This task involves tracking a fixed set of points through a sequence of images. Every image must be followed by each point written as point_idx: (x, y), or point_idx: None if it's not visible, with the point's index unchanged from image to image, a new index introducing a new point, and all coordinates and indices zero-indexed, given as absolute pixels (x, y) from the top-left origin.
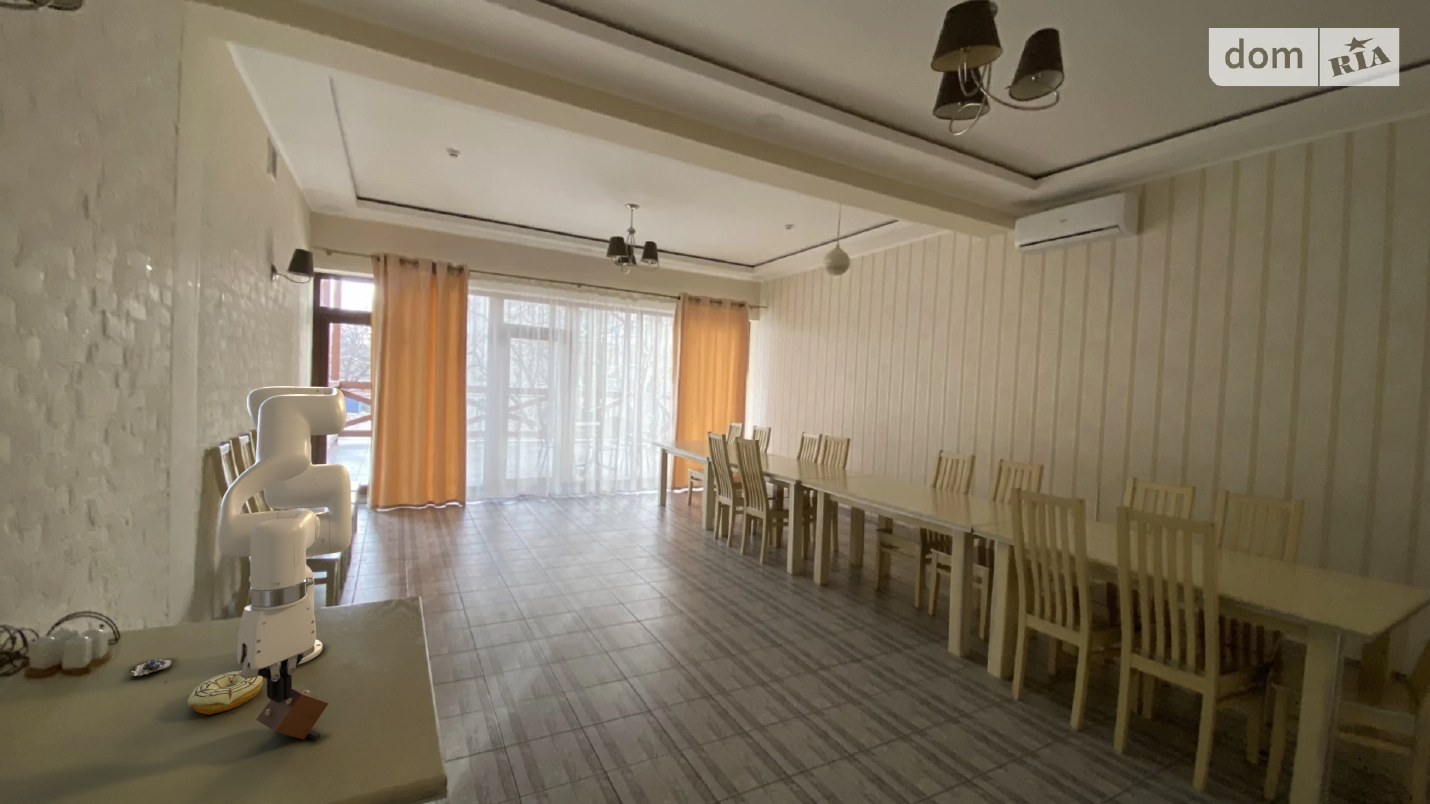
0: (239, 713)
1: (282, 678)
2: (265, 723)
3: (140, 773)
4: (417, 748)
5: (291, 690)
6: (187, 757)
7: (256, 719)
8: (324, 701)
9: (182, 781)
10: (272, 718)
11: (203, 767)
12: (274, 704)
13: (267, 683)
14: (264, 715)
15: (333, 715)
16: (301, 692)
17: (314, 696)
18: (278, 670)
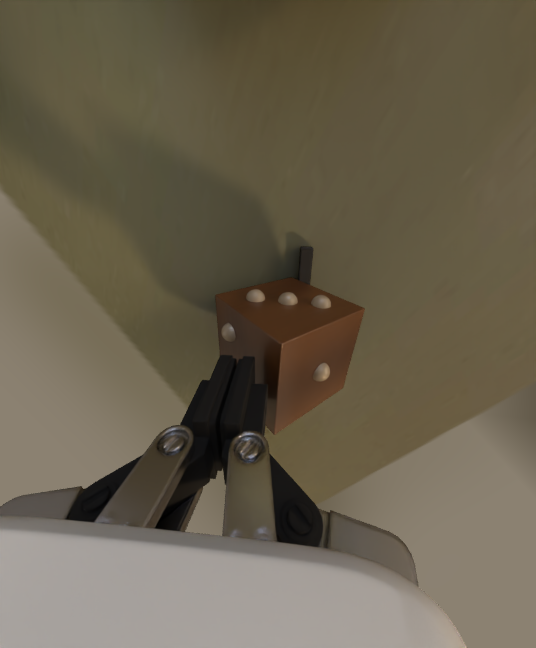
0: (285, 24)
1: (219, 469)
2: (219, 335)
3: (32, 144)
4: (338, 480)
5: (273, 393)
6: (120, 179)
7: (215, 295)
8: (337, 389)
9: (103, 271)
10: (228, 351)
11: (138, 259)
12: (242, 341)
13: (184, 421)
14: (224, 320)
15: (371, 319)
16: (293, 401)
17: (339, 363)
18: (184, 526)
